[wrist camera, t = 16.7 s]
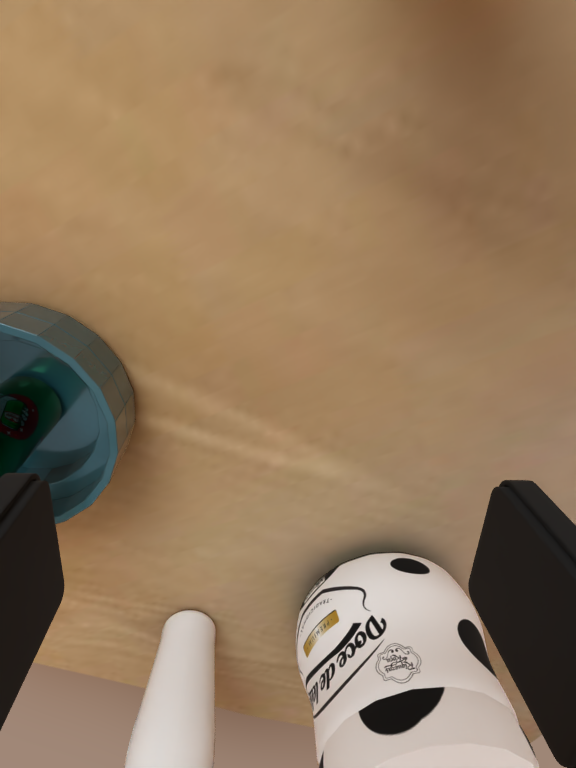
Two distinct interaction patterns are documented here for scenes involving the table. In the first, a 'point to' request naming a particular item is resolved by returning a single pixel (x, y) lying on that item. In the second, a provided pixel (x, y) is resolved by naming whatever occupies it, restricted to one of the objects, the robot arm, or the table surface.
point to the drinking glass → (178, 698)
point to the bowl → (70, 401)
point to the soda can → (24, 419)
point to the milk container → (402, 671)
